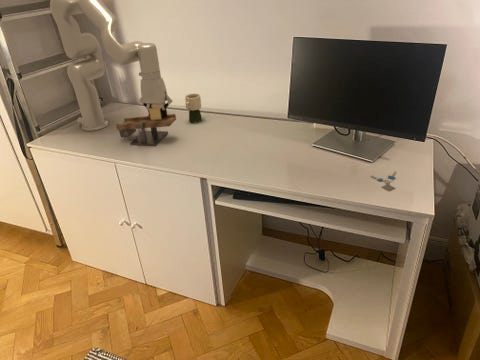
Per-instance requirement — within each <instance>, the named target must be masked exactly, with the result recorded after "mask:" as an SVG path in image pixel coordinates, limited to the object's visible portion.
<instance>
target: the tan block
mask: <svg viewBox="0 0 480 360" xmlns="http://www.w3.org/2000/svg"><path fill="white" fill-rule="evenodd" d="M161 110H162V108H161V105H153V106H152V107H150V108H149V112H148V114H149V113H150V118H151V121H164V120H165V119H166V118H165V119H163V118H162V113H161Z"/></svg>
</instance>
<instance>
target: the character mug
mask: <svg viewBox="0 0 480 360" xmlns="http://www.w3.org/2000/svg"><path fill="white" fill-rule="evenodd" d="M184 97H185V108H186V110H189V111H188V121H189V122H190V123H199V122H202V121H203V120H202V119H203V117H202V114H201V110H200V109H201V108H202V100H201V99H202V98H201V94H199V93H189V94H186V95H185V96H184Z"/></svg>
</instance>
